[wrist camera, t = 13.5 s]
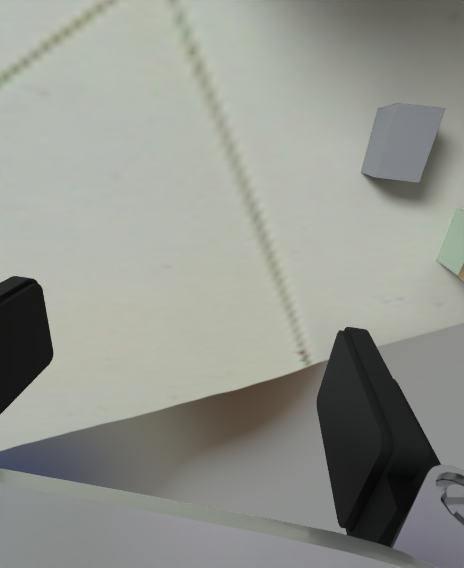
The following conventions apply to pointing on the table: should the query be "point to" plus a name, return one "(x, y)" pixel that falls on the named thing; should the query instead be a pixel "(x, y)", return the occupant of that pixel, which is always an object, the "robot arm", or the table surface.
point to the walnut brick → (461, 273)
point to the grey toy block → (401, 141)
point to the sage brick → (453, 244)
